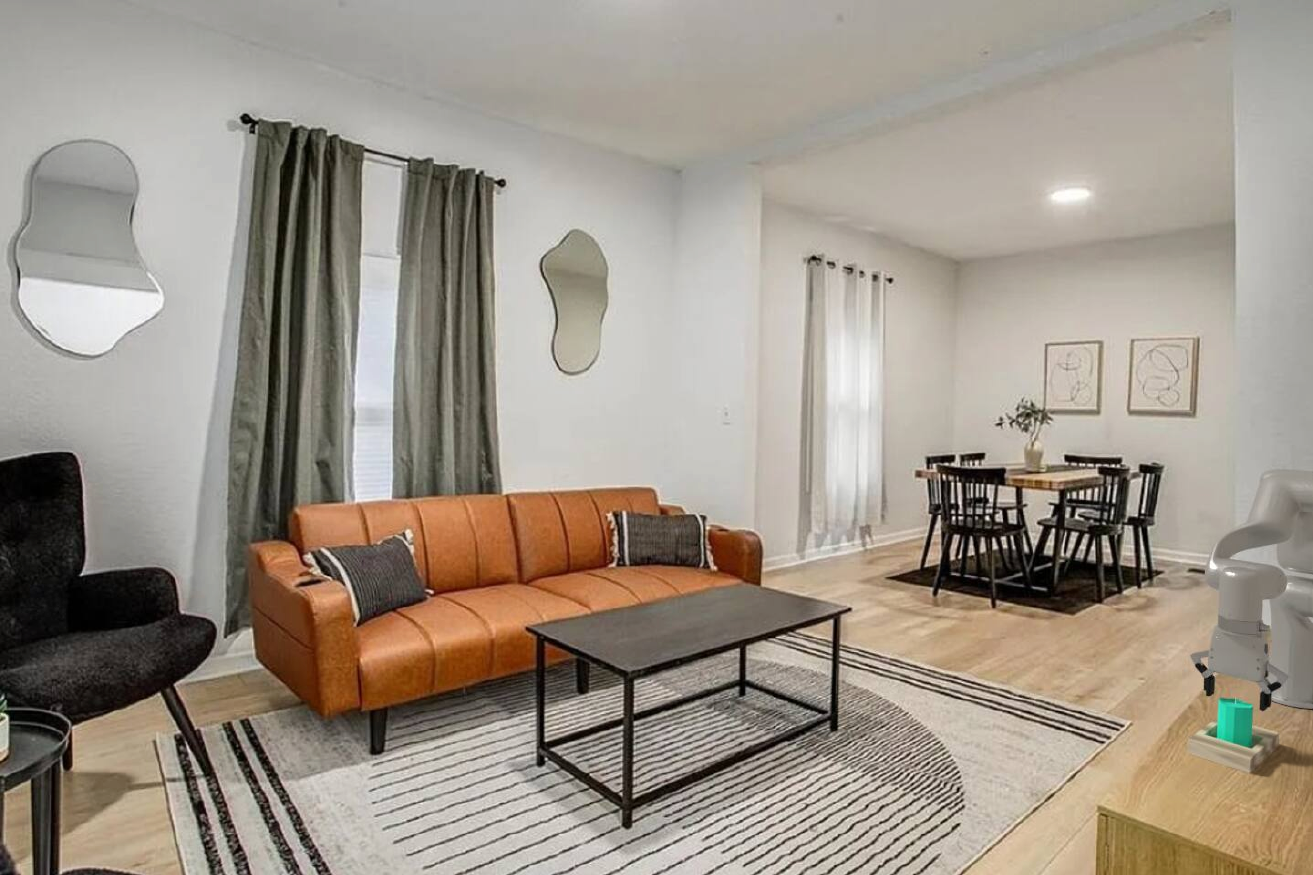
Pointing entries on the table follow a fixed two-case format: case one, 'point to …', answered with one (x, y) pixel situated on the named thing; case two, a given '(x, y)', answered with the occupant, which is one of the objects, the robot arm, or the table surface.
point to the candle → (1235, 721)
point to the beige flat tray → (1233, 747)
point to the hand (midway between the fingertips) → (1236, 701)
